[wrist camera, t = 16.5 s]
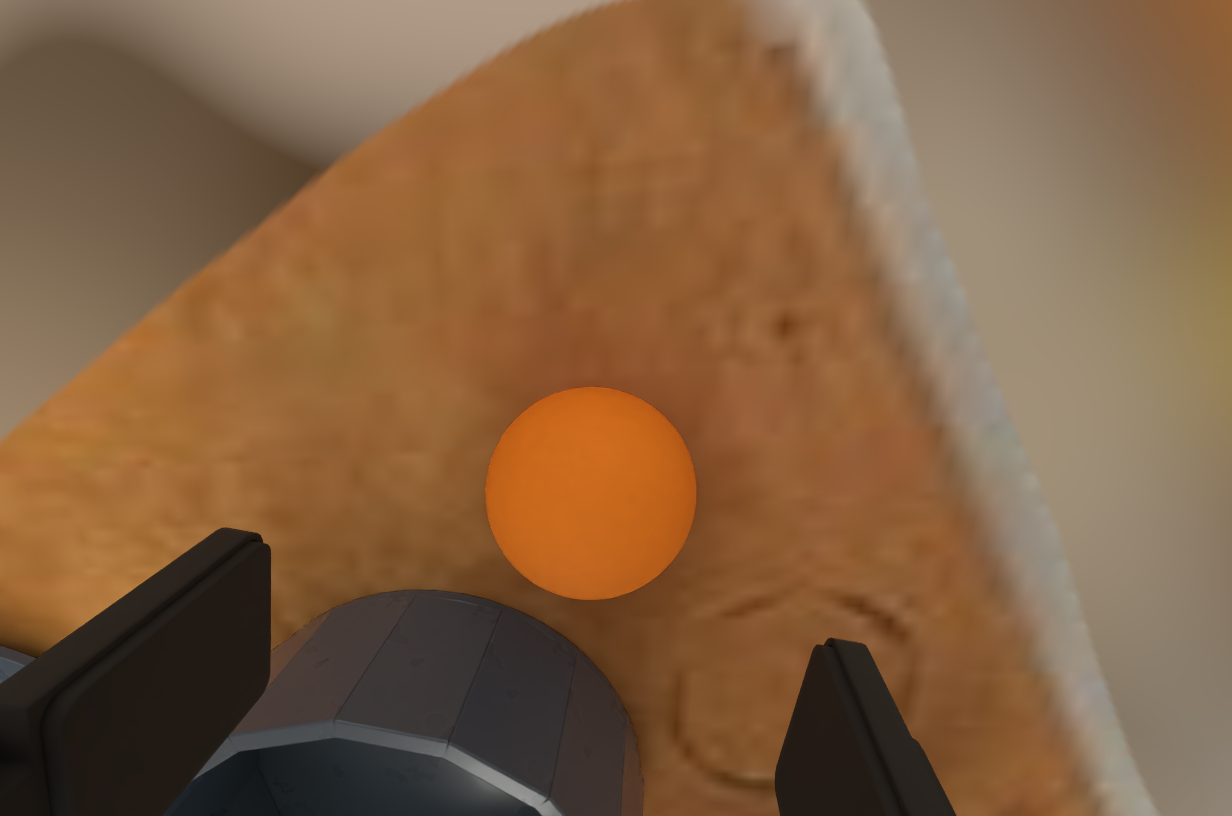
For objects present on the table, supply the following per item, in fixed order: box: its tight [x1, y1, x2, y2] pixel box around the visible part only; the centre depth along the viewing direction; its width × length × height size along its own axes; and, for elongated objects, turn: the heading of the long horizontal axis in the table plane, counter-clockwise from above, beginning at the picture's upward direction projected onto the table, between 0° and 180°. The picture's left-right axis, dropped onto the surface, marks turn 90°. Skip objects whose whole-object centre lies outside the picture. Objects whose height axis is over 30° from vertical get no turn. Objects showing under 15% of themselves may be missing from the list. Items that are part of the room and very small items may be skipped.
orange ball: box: [485, 387, 696, 600], centre depth 18 cm, size 6×6×6 cm
